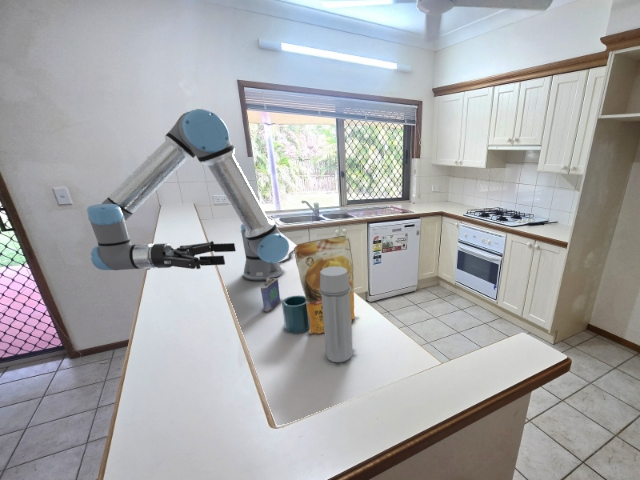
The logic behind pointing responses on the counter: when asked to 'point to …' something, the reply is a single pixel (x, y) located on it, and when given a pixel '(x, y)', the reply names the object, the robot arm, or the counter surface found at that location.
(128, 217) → the robot arm
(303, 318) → the coffee cup
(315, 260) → the pancake mix bag
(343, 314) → the water bottle
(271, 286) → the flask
